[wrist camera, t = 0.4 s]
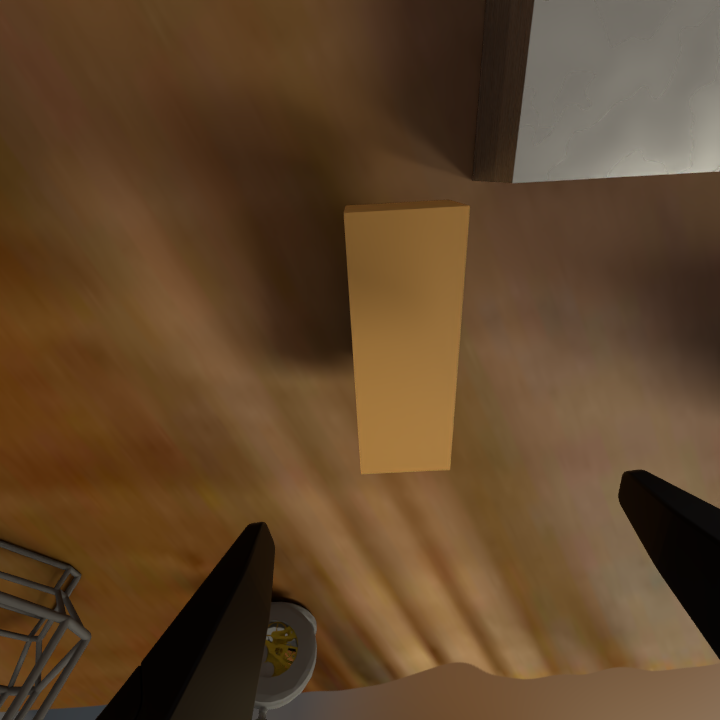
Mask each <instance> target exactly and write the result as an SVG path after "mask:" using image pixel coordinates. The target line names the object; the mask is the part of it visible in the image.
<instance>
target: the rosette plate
mask: <svg viewBox="0 0 720 720" xmlns="http://www.w3.org/2000/svg"><path fill="white" fill-rule="evenodd" d="M717 171H720V0H486V9H485V22H484V35H483V48H482V61H481V74H480V87H479V100H478V113H477V126H476V139H475V152H474V165H473V178H472V181H487V182H502V183H525V182H543V181H560V180H577V179H595V178H612V177H630V176H647V175H665V174H682V173H700V172H717Z"/></svg>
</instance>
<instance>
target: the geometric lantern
mask: <svg viewBox="0 0 720 720" xmlns="http://www.w3.org/2000/svg"><path fill="white" fill-rule="evenodd" d="M0 547H2V548H5V549H8V550H10V551H13V552H16V553H19V554H22V555H24V556H27V557H30V558H33V559H36V560H38V561H41V562H44V563H47V564H49V565H52V566H55V567H58V568H61V569H63V570H66V571H65V572H64V574H63V575H62V577H61V578H60V580H59V581H58V583H57V584H56V586H55V587H54V588H52V587H49V586H45V585H42V584H39V583H36V582H33V581H30V580H26V579H23V578H20V577H17V576H14V575H11V574H8V573H4V572H1V571H0V578H2V579H5V580H8V581H12V582H15V583H18V584H21V585H24V586H28V587H31V588H34V589H37V590H41V591H44V592H47V593H50V594H53V595H55V596H56V601H57V606H56V607H55V609H54V610H52V609H49V608H46V607H44V606H41V605H38V604H35V603H32V602H30V601H27V600H24V599H21V598H18V597H15V596H13V595H10V594H7V593H4V592H1V591H0V607H2V608H5V609H8V610H12V611H15V612H18V613H21V614H24V615H28V616H31V617H34V618H37V619H40V620H39V622H38V623H37V625H36V626H35V627H34V629H33V630H32V631H31V633H30V634H29V635H23V634H19V633H14V632H10V631H6V630H1V629H0V636H5V637H9V638H13V639H18V640H22V641H27V642H26V644H25V646H24V649H23V651H22V654H21V656H20V658H19V661H18V663H17V666H16V668H15V670H14V673H13V675H12V678H11V680H10V682H9V685H8V686H3V685H0V707H1V706H2V704H3V703H4V701H5V700H6V699H7V697H8V696H9V695H13V696H15V695H16V697H15V699H14V700H13V702H12V704H11V705H10V707H9V708H8V710H7V712H6V713H5V715H4V717H3V718H2V720H13V718H14V717H15V715H16V713H17V712H18V710H19V708H20V707H21V705H22V703H23V702H24V700H25V698H26V696H27V695H30V697H29V698H28V700H27V701H26V703H25V704H24V706H23V707H22V709H21V710H20V712H19V713H18V715H17V716H16V718H15V720H23V719H24V717H25V715H26V714H27V712H28V711H29V709H30V708H31V706H32V705H33V703H34V701H35V700H36V698H37V697H38V695H39V694H40V692H41V691H42V690H43V689H44V688H45V687H46V686H47V684H48V683H49V682H50V681H51V680H52V679H53V678H54V677H55V676H56V675H57V674H58V673H59V672H60V671H61V670H62V669H63V668H64V667H65V666H66V667H65V668H64V670H63V671H62V673H61V675H60V676H59V678H58V679H57V681H56V683H55V684H54V686H53V688H52V689H51V691H50V692H49V694H48V696H47V697H46V699H45V700H44V702H43V704H42V705H41V707H40V709H39V710H38V712H37V714H36V715H35V717H34V718H33V720H43V718H44V717H45V715H46V713H47V712H48V710H49V708H50V707H51V705H52V703H53V702H54V700H55V698H56V697H57V695H58V693H59V692H60V690H61V688H62V687H63V685H64V683H65V682H66V680H67V678H68V677H69V675H70V673H71V671H72V670H73V668H74V666H75V665H76V663H77V662H78V660H79V658H80V657H81V655H82V653H83V652H84V650H85V648H86V647H87V645H88V643H89V641H90V639H91V633H90V632H89V631H88V630H87V629H85V628H84V626H83V624H82V622H81V620H80V618H79V616H78V615H77V613H76V611H75V609H74V607H73V605H72V603H71V601H70V599H69V596H70V594H71V592H72V591H73V589H74V588H75V586H76V585H77V583H78V581H79V580H80V578H81V574H80V573H79V572H78V571H77V570H75V569H74V568H73V567H72V566H70V565H67V564H64V563H61V562H59V561H56V560H53V559H50V558H48V557H45V556H42V555H39V554H37V553H34V552H31V551H28V550H26V549H23V548H20V547H17V546H15V545H12V544H9V543H6V542H4V541H1V540H0ZM69 573H70V574H72V575H73V576H74V579H73V580H72V582H71V583H70V585H69V586H68V588H67V589H66V591H65V592H63V591H62V590H61V589H60V587H61V586H62V584H63V583H64V581H65V580H66V578H67V577H68V575H69ZM64 604H65V606H66V608H67V610H68V612H69V614H70V616H69V615H66V612H65V607H64ZM45 619H48V621H47V623H46V624H45V626H44V628H43V629H42V631H41V633H40V635H39V636H34V635H35V633H36V632H37V631H38V629H39V628H40V626H41V625H42V624H43V622H44V621H45ZM54 621H55V622H58V623H60V625H59V626H58V628H57V630H56V631H55V633H54V635H53V636H52V638H51V640H50V641H49V643H48V645H47V646H46V648H45V650H44V651H43V653H42V639H43V638H44V637H45V635H46V633H47V632H48V630H49V629H50V627H51V625H52V624H53V622H54ZM67 628H68V629H70V630H71V631H72V632H73V633H75V634H76V635H77V636H79V637H80V638H81V640H80V641H79V642H78V643H77V644H76V645H75V646H74V647H73V648H72V649H71V650H70V651H69V652H68V653H67V655H66V656H65V657H64V658H63V659H62V660H61V661H60V662H59V663H58V664H57V665H56V666H55V667H54V668H53V669H52V670H51V672H50V673H49V674H48V675H47V676H46V677H45V678H44V679H43V680H42V681H41V671H42V670H43V668H44V666H45V664H46V663H47V661H48V659H49V658H50V656H51V654H52V652H53V651H54V649H55V647H56V646H57V644H58V642H59V641H60V639H61V637H62V635H63V634H64V632H65V630H66V629H67ZM32 641H36V664H35V666H34V668H33V669H32V671H31V673H30V674H29V676H28V678H27V679H26V681H25V682H24V684H23V686H22V687H13V686H14V683H15V681H16V678H17V676H18V674H19V671H20V669H21V666H22V664H23V662H24V659H25V657H26V654H27V652H28V649H29V647H30V645H31V642H32ZM34 683H35V686H33V685H34Z"/></svg>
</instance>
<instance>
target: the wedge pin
mask: <svg viewBox="0 0 720 720" xmlns="http://www.w3.org/2000/svg"><path fill="white" fill-rule="evenodd" d="M469 213H470V206H469V205H465V204H462V203H458V202H455V201H451V200H434V201H417V202H399V203H381V204H364V205H346V206H345V210H344V226H345V241H346V256H347V271H348V286H349V301H350V316H351V331H352V346H353V361H354V376H355V391H356V406H357V421H358V436H359V451H360V466H361V474H374V473H395V472H415V471H435V470H450V462H451V449H452V436H453V423H454V410H455V397H456V384H457V371H458V357H459V344H460V331H461V318H462V305H463V292H464V279H465V266H466V253H467V239H468V226H469Z"/></svg>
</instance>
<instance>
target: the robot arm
mask: <svg viewBox="0 0 720 720" xmlns="http://www.w3.org/2000/svg"><path fill="white" fill-rule="evenodd" d="M618 498H619V502H620V505H621V507H622V508H623V510H624V512H625V514H626V516H627V517H628V519H629V521H630V523H631V524H632V526H633V528H634V530H635V532H636V533H637V535H638V537H639V539H640V540H641V542H642V544H643V546H644V547H645V549H646V551H647V553H648V555H649V556H650V558H651V560H652V561H653V563H654V565H655V566H656V568H657V570H658V571H659V573H660V574H661V576H662V577H663V579H664V580H665V581H666V583H667V584H668V586H669V587H670V589H671V590H672V592H673V593H674V594H675V596H676V597H677V599H678V600H679V602H680V603H681V605H682V606H683V607H684V609H685V610H686V612H687V613H688V615H689V616H690V617H691V619H692V620H693V622H694V623H695V625H696V626H697V628H698V629H699V630H700V632H701V633H702V635H703V636H704V638H705V639H706V641H707V642H708V643H709V645H710V646H711V648H712V649H713V651H714V652H715V654H716V655H717V656H718V658H719V659H720V509H719V508H717V507H715V506H713V505H711V504H709V503H707V502H705V501H703V500H701V499H699V498H697V497H696V496H694V495H692V494H690V493H688V492H686V491H684V490H682V489H680V488H678V487H676V486H674V485H672V484H670V483H668V482H666V481H664V480H663V479H661V478H659V477H657V476H655V475H653V474H651V473H649V472H647V471H645V470H632V471H626V472H624V473H623V475H622V479H621V484H620V489H619V494H618ZM274 557H275V545H274V541H273V538H272V536H271V534H270V531H269V529H268V526H267V524H266V523H265V522H257V523H251V524H249V525H248V526H247V527H246V528H245V529H244V531H243V532H242V533H241V534H240V536H239V537H238V538H237V540H236V541H235V542H234V544H233V545H232V546H231V547H230V549H229V550H228V551H227V553H226V554H225V555H224V556H223V558H222V559H221V560H220V562H219V563H218V564H217V565H216V567H215V568H214V569H213V571H212V572H211V573H210V574H209V576H208V577H207V578H206V580H205V581H204V582H203V583H202V585H201V586H200V587H199V589H198V590H197V591H196V592H195V594H194V595H193V596H192V598H191V599H190V600H189V601H188V603H187V604H186V605H185V607H184V608H183V609H182V610H181V612H180V613H179V614H178V616H177V617H176V618H175V619H174V621H173V622H172V623H171V625H170V626H169V627H168V628H167V630H166V631H165V632H164V634H163V635H162V636H161V637H160V639H159V640H158V641H157V643H156V644H155V645H154V646H153V648H152V649H151V650H150V652H149V653H148V654H147V655H146V657H145V658H144V659H143V661H142V662H141V666H138V667H137V668H136V669H135V671H134V672H133V673H132V675H131V676H130V677H129V678H128V680H127V681H126V682H125V684H124V685H123V686H122V687H121V689H120V690H119V691H118V692H117V694H116V695H115V696H114V697H113V699H112V700H111V701H110V702H109V704H108V705H107V706H106V707H105V709H104V710H103V711H102V712H101V714H100V715H99V716H98V717H97V718H96V720H252V715H253V709H254V703H255V698H256V692H257V686H258V681H259V675H260V670H261V664H262V658H263V653H264V647H265V641H266V636H267V630H268V624H269V618H270V609H271V597H272V584H273V570H274Z"/></svg>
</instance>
